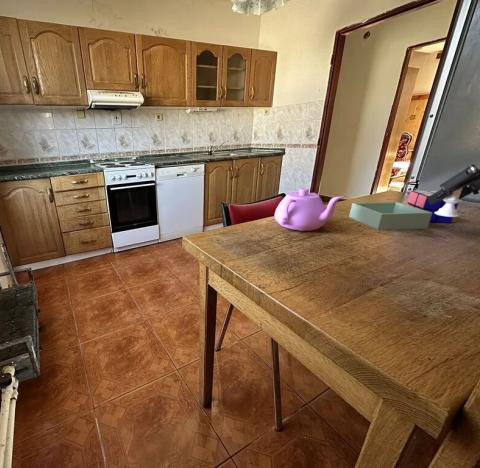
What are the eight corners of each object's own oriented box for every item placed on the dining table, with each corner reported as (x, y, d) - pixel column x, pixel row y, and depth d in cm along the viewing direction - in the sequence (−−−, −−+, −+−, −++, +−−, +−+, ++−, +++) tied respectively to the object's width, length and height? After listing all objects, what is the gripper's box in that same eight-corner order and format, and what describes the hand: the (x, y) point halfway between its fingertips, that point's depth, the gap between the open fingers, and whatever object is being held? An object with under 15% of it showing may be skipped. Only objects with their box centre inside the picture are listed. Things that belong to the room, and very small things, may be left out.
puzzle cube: (418, 222, 96) (427, 195, 92) (402, 214, 105) (410, 190, 101) (451, 223, 94) (462, 196, 90) (432, 215, 103) (441, 190, 99)
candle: (458, 218, 77) (474, 177, 72) (433, 214, 80) (447, 176, 76) (459, 214, 80) (474, 175, 75) (435, 211, 84) (448, 174, 79)
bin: (391, 215, 104) (395, 201, 102) (427, 228, 90) (432, 212, 87) (349, 217, 104) (352, 203, 102) (377, 229, 90) (382, 214, 88)
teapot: (317, 243, 80) (326, 200, 75) (260, 225, 97) (264, 189, 92) (350, 228, 91) (360, 190, 86) (293, 215, 108) (299, 182, 103)
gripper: (557, 136, 62) (460, 190, 84) (483, 139, 63) (405, 192, 84) (578, 161, 59) (472, 210, 81) (500, 164, 60) (415, 212, 81)
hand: (438, 201), depth 82 cm, fingers closed on candle, 5 cm apart
